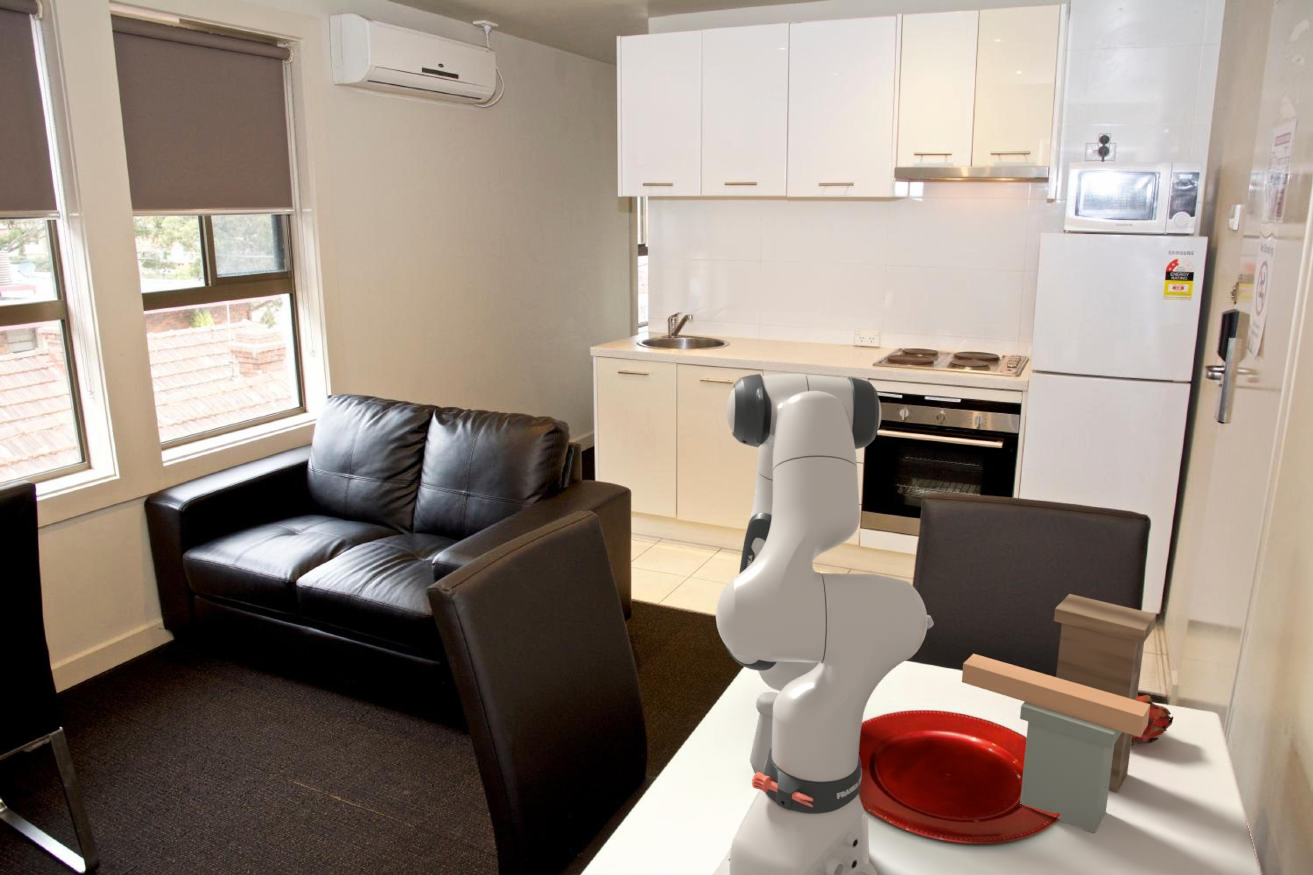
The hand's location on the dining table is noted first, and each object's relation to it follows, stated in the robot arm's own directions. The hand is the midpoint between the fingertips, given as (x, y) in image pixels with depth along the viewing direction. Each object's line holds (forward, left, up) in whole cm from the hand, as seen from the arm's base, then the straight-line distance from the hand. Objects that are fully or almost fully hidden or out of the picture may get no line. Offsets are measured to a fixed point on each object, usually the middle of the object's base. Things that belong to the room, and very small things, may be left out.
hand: (917, 631), depth 145 cm
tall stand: (+12, -23, -20) cm, 33 cm away
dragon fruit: (+27, -26, -21) cm, 43 cm away
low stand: (0, -23, -20) cm, 31 cm away
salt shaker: (-19, +14, -21) cm, 31 cm away
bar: (0, -20, -5) cm, 21 cm away
